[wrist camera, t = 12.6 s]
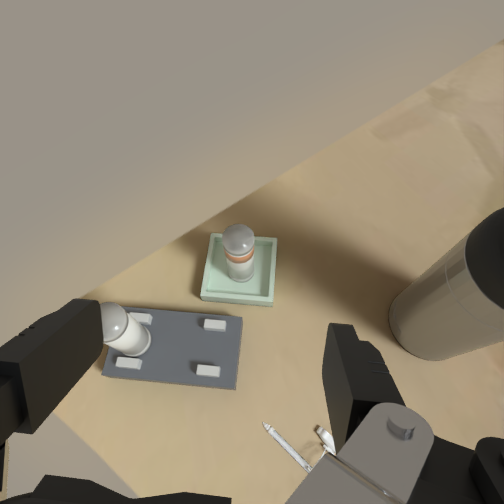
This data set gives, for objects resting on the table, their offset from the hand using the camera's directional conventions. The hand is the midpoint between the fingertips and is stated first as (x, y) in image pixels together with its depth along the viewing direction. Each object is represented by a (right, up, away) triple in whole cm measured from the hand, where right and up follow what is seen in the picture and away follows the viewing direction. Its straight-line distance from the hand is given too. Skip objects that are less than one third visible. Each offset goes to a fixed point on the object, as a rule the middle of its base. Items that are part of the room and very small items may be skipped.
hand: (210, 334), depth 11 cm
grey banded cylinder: (0, 0, +33) cm, 33 cm away
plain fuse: (-12, -8, +27) cm, 31 cm away
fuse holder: (-8, -9, +29) cm, 31 cm away
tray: (0, 0, +34) cm, 34 cm away
